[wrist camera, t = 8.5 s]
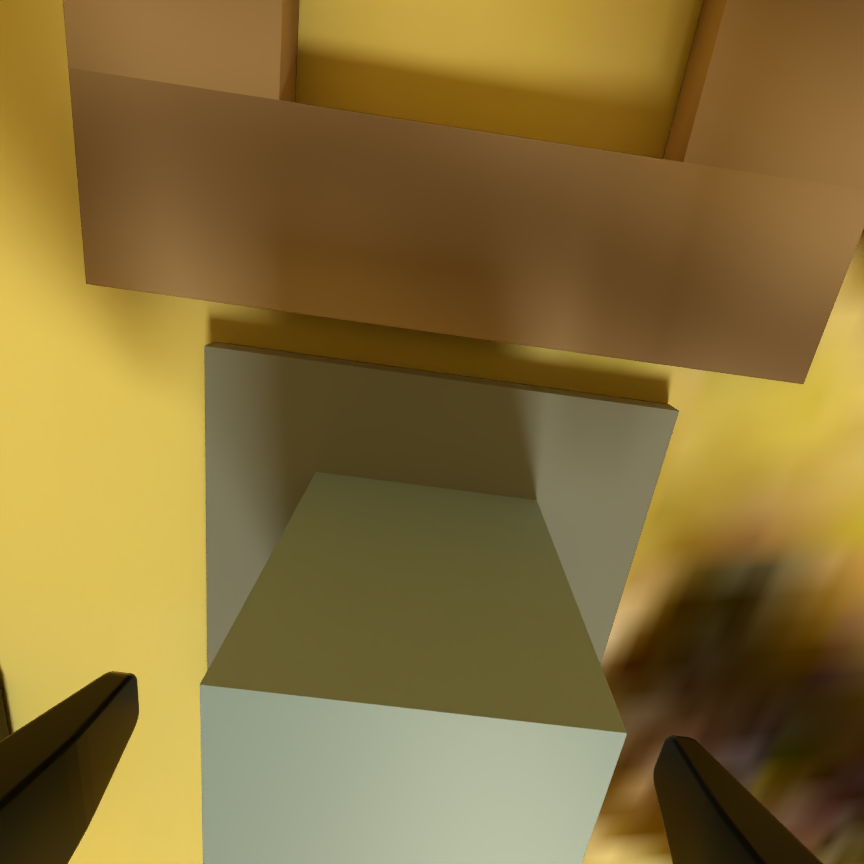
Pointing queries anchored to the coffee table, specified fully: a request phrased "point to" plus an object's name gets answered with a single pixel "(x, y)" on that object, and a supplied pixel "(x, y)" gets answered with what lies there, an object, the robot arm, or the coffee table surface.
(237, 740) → the slate block
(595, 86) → the coffee table surface
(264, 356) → the rubber mat
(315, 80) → the coffee table surface
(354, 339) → the coffee table surface
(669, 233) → the walnut pocket plate
